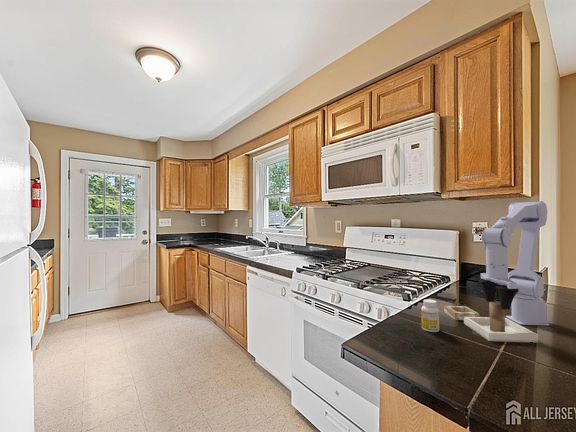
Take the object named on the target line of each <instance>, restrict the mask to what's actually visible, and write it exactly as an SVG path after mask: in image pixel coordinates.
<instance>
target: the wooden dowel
mask: <svg viewBox="0 0 576 432" xmlns="http://www.w3.org/2000/svg"><path fill="white" fill-rule="evenodd" d="M488 303H489V305H488V307H489V309H488V310H489V317H490V330H491V331H493V332H505V318H506V312H505V310H506V309H502V308H501V305H500V301H499V302H498V301H494V302H488Z"/></svg>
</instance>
